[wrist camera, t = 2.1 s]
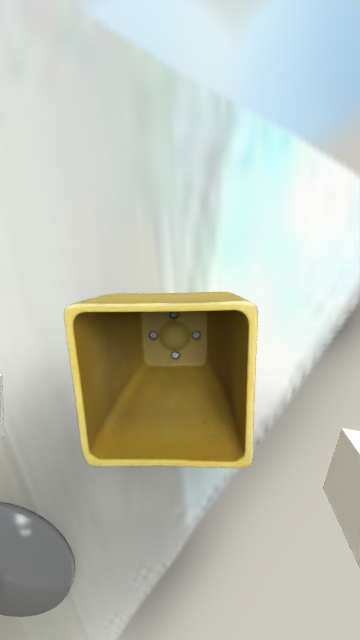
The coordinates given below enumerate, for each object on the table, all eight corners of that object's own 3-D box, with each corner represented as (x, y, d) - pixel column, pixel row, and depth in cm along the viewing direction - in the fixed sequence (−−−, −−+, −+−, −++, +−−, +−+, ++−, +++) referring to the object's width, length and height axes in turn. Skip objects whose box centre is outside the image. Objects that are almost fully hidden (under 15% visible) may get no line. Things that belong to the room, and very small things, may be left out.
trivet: (-56, 595, 33) (-62, 604, 32) (-68, 491, 29) (-76, 498, 28) (72, 617, 33) (69, 626, 32) (77, 514, 29) (74, 522, 28)
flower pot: (236, 274, 22) (260, 301, 13) (234, 385, 24) (253, 471, 16) (114, 276, 22) (60, 304, 14) (124, 385, 25) (83, 467, 16)
